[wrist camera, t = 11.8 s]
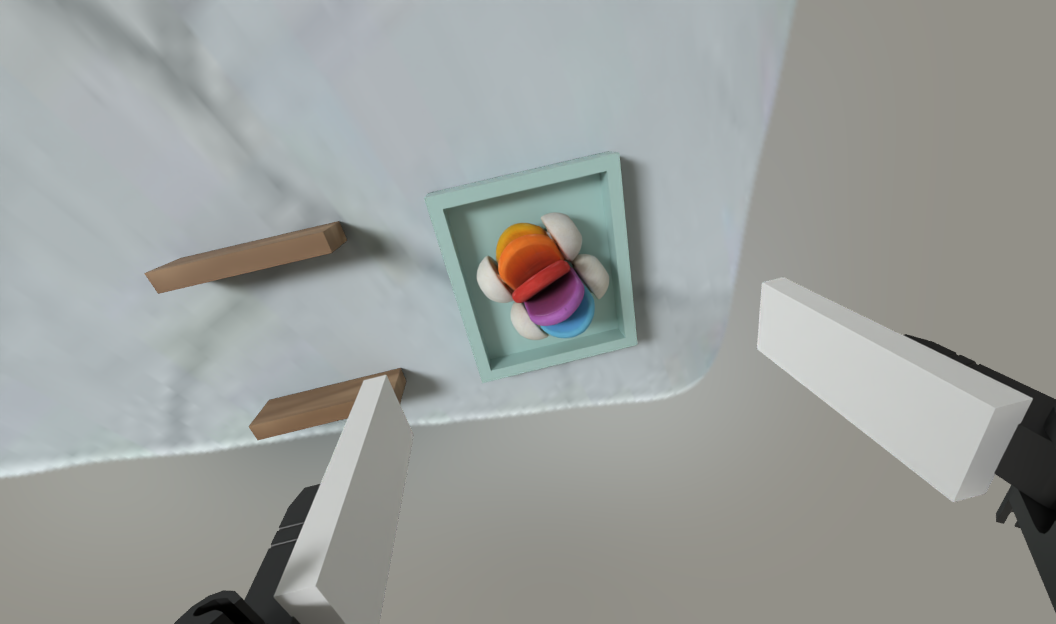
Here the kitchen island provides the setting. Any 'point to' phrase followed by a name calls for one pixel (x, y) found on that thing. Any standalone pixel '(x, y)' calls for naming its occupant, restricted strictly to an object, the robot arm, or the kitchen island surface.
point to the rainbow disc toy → (544, 278)
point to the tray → (524, 197)
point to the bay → (261, 255)
